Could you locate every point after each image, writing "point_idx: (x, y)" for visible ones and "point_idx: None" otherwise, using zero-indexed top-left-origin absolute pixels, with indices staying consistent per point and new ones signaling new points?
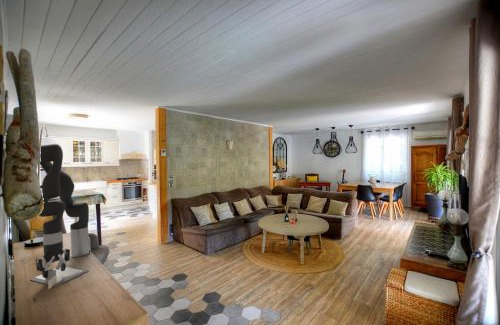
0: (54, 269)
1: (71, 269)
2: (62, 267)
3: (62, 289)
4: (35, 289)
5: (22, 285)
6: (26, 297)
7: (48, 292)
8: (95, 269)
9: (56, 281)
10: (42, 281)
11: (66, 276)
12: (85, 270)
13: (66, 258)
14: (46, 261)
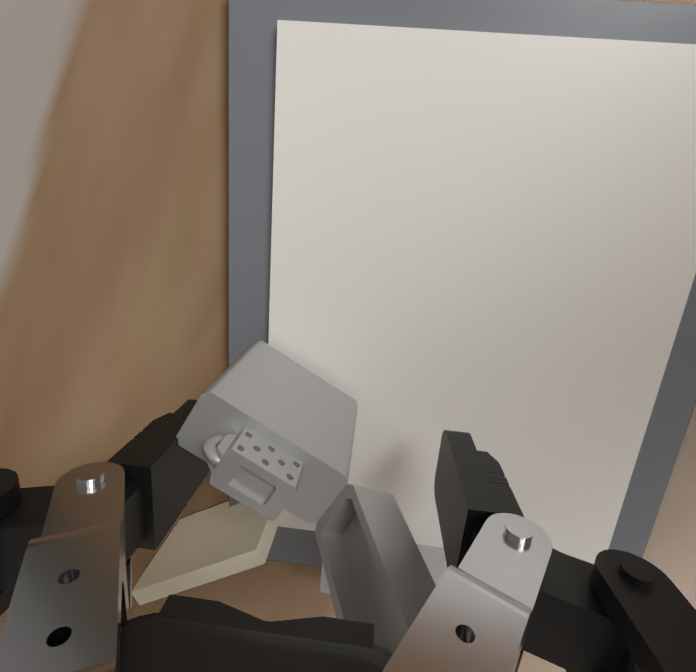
0: (312, 494)
1: (630, 369)
2: (443, 514)
3: None
4: (120, 391)
5: (105, 80)
6: (5, 466)
7: (140, 577)
8: None
9: None
10: (245, 299)
11: None
12: None
13: (618, 658)
14: (56, 636)
